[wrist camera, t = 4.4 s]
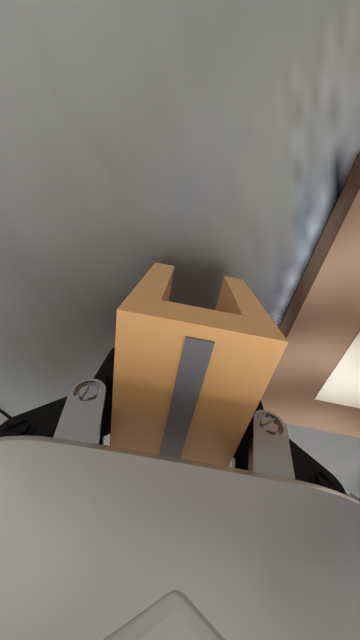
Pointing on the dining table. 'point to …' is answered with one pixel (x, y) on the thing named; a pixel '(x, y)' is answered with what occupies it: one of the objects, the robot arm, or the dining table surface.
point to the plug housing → (190, 369)
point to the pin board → (324, 329)
